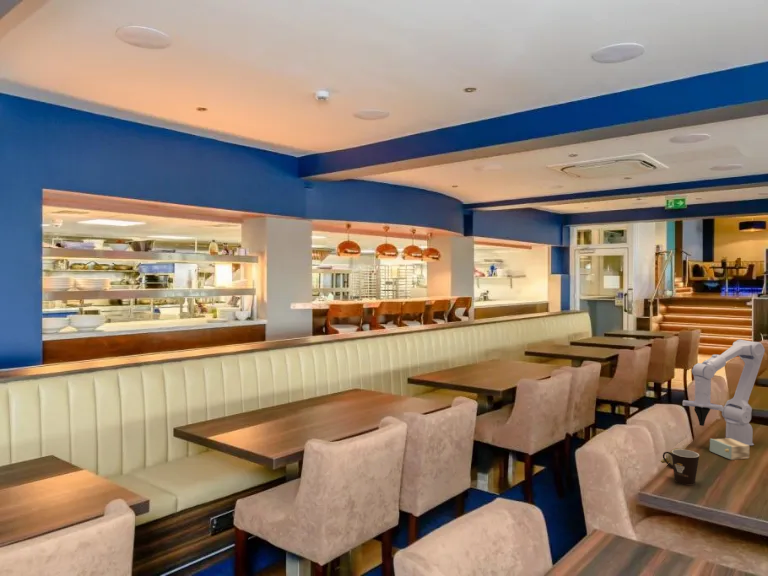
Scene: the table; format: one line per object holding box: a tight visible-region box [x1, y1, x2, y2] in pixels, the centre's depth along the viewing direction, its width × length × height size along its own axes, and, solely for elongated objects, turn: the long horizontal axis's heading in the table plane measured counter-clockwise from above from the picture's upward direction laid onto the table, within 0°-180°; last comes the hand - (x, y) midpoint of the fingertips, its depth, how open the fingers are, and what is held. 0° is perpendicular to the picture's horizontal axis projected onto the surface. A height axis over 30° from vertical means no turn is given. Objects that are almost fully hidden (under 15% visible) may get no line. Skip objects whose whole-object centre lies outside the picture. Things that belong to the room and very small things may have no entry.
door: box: [708, 438, 732, 460], centre depth 229 cm, size 2×10×5 cm, turn 13°
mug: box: [659, 447, 680, 467], centre depth 219 cm, size 8×10×10 cm
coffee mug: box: [662, 448, 700, 485], centre depth 204 cm, size 12×9×10 cm
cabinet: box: [713, 437, 751, 461], centre depth 230 cm, size 8×10×5 cm
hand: (701, 425), depth 238 cm, fingers closed
